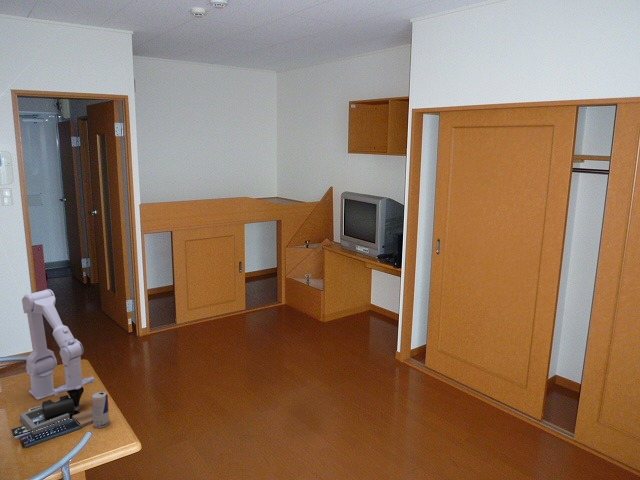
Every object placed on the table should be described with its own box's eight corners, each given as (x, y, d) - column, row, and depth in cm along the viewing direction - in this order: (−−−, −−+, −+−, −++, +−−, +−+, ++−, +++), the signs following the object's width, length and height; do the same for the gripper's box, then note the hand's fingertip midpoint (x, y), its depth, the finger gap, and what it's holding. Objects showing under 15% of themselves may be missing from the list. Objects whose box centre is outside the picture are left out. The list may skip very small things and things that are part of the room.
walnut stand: (72, 419, 185) (71, 416, 185) (93, 410, 191) (93, 407, 191) (81, 427, 180) (81, 424, 180) (103, 418, 186) (102, 415, 186)
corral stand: (20, 420, 183) (19, 414, 183) (56, 407, 193) (55, 401, 192) (33, 434, 175) (32, 428, 174) (69, 420, 184) (69, 414, 184)
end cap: (45, 425, 180) (44, 409, 179) (41, 417, 186) (40, 400, 184) (75, 416, 187) (74, 400, 185) (70, 408, 192) (69, 392, 191)
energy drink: (112, 421, 184) (110, 391, 182) (103, 429, 179) (101, 399, 177) (99, 419, 186) (97, 389, 183) (90, 427, 180) (88, 397, 178)
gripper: (57, 383, 181) (60, 417, 184) (97, 370, 192) (99, 402, 194) (50, 377, 186) (53, 409, 188) (88, 364, 196) (91, 395, 199)
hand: (76, 405), depth 192 cm, fingers closed
